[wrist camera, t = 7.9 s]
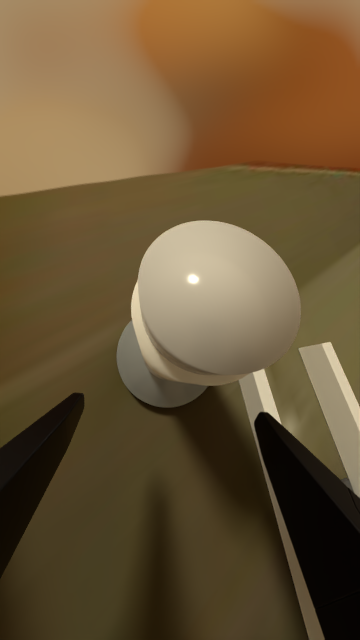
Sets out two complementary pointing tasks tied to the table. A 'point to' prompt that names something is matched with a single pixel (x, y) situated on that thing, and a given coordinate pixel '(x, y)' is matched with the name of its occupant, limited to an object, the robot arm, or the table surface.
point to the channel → (347, 431)
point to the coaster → (150, 376)
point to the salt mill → (213, 304)
